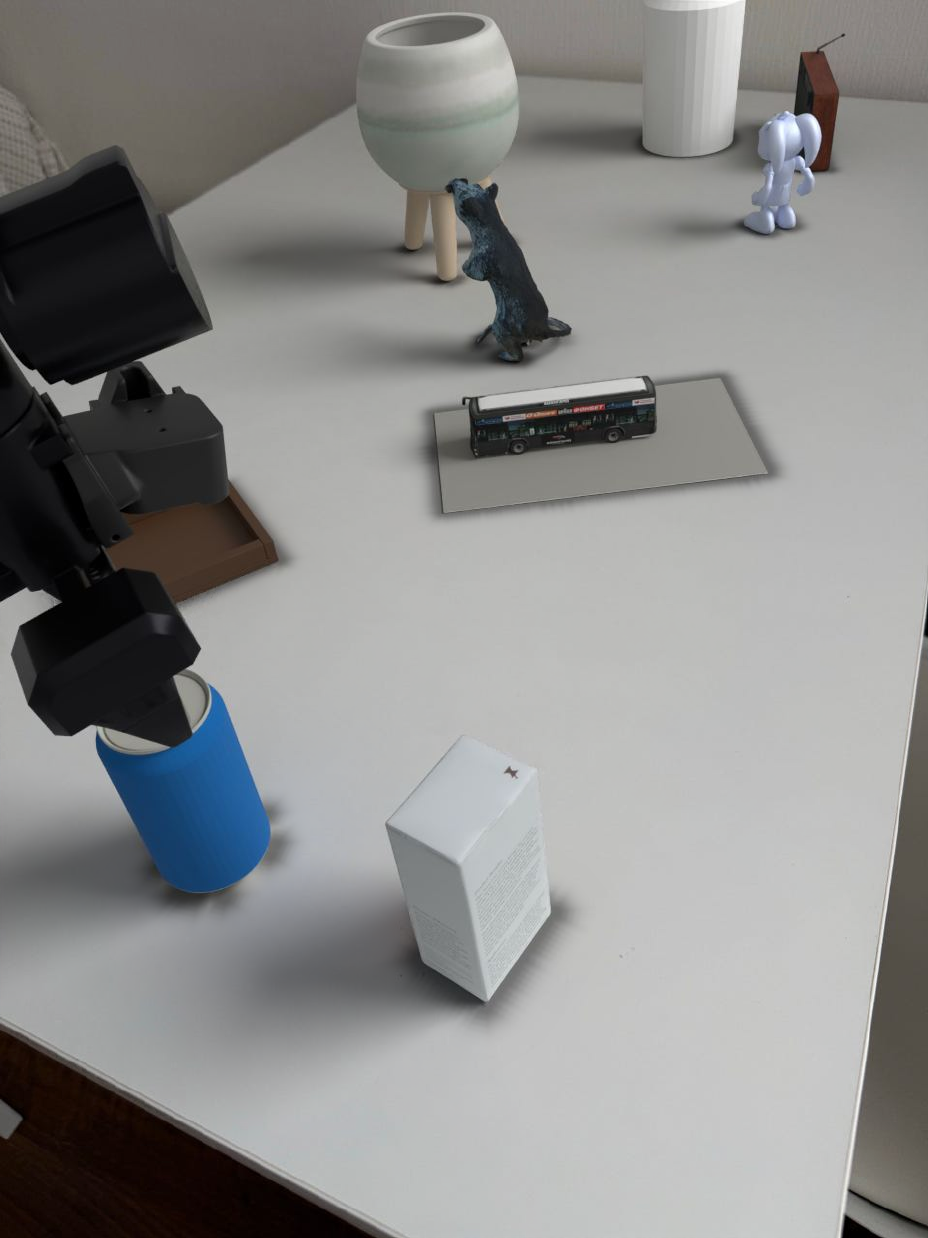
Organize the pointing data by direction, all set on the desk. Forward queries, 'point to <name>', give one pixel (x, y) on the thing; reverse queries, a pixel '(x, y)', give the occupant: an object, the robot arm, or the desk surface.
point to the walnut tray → (196, 545)
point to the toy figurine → (783, 168)
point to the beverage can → (191, 794)
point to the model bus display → (589, 441)
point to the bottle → (690, 74)
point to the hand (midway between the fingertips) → (153, 682)
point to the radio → (818, 100)
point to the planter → (437, 114)
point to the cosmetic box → (473, 864)
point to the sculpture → (502, 272)
